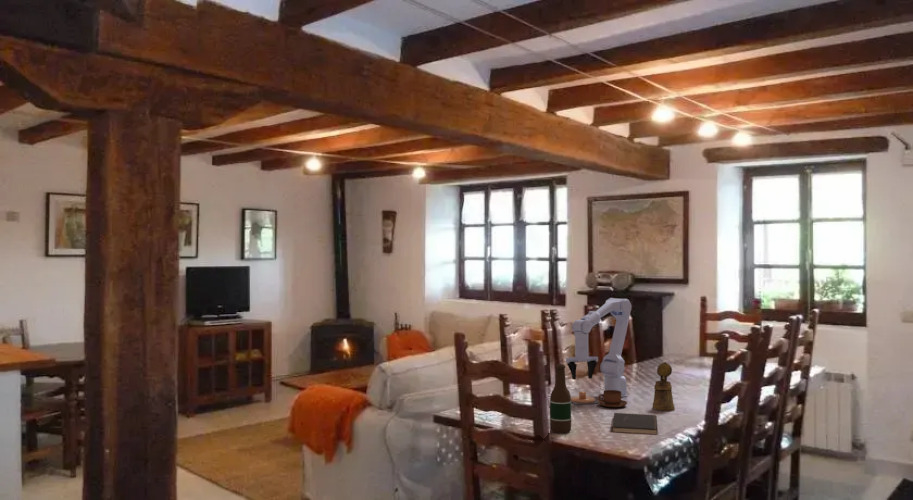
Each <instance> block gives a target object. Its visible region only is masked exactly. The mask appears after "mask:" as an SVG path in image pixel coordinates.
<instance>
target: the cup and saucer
mask: <svg viewBox="0 0 913 500" xmlns="http://www.w3.org/2000/svg"><path fill="white" fill-rule="evenodd" d="M603 393H604V394H601V393H600V394H598V397H597V401H598V403H599V404H598V405H600V406H602V407H605V408H610V409H612V408H613V409H614V408H616V409H617V408H622V407H625V406H626V405H627V404H628V402H627V401H626V400H624V399H622V397H621V391H617V390H606V391H604V390H603ZM601 396H602V397H603V399H601Z"/></svg>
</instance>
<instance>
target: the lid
mask: <svg viewBox="0 0 913 500" xmlns="http://www.w3.org/2000/svg"><path fill="white" fill-rule="evenodd" d="M596 400H597V399H596V397H593V396H588V395H587V392H586V391H579V392H578V395H577V396H576V395H575V396H571V401H572V402H576V403H592V402H595V401H596Z"/></svg>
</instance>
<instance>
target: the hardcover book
mask: <svg viewBox="0 0 913 500" xmlns="http://www.w3.org/2000/svg"><path fill="white" fill-rule="evenodd" d="M657 419H658V417H657V415H656V414H645V413H644V414H643V413H642V414H640V413H623V412H622V413H621V412H614V413H613V418H612V422H611V423H612V424H611V428H612V432H616V433H633V434H650V435H652V434H653V435H658V434H659V432H658V430H659V429H658V420H657Z"/></svg>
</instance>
